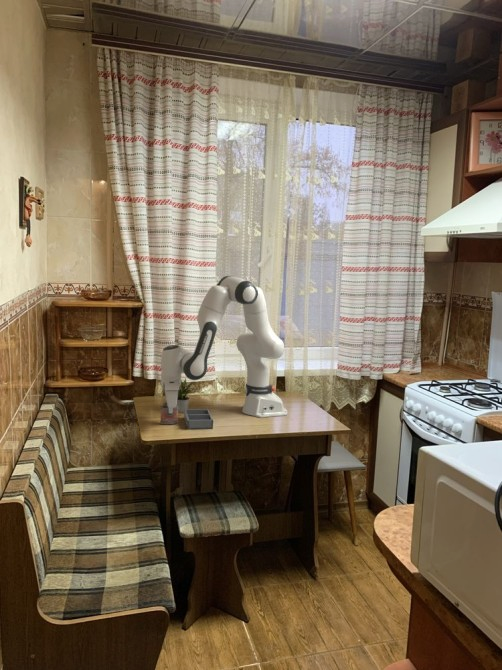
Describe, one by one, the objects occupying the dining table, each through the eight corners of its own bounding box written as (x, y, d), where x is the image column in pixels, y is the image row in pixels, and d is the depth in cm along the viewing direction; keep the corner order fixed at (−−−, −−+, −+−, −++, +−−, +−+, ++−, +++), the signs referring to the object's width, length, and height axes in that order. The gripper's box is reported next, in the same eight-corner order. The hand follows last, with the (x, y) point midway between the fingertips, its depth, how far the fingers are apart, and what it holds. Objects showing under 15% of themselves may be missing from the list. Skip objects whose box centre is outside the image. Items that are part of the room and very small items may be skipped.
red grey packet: (160, 424, 234) (160, 403, 232) (159, 421, 237) (159, 400, 236) (178, 423, 236) (178, 402, 235) (177, 421, 240) (177, 400, 238)
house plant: (200, 415, 251) (201, 382, 249) (171, 416, 247) (172, 383, 244) (194, 406, 265) (195, 374, 262) (167, 407, 260) (167, 375, 258)
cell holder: (207, 417, 248) (208, 408, 248) (212, 428, 233) (213, 419, 233) (184, 418, 246) (184, 409, 245) (187, 429, 231) (187, 420, 230)
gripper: (162, 375, 243) (162, 404, 245) (164, 387, 223) (164, 418, 226) (176, 375, 244) (175, 403, 247) (179, 387, 225) (179, 418, 227)
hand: (170, 411), depth 236 cm, fingers closed on red grey packet, 3 cm apart
